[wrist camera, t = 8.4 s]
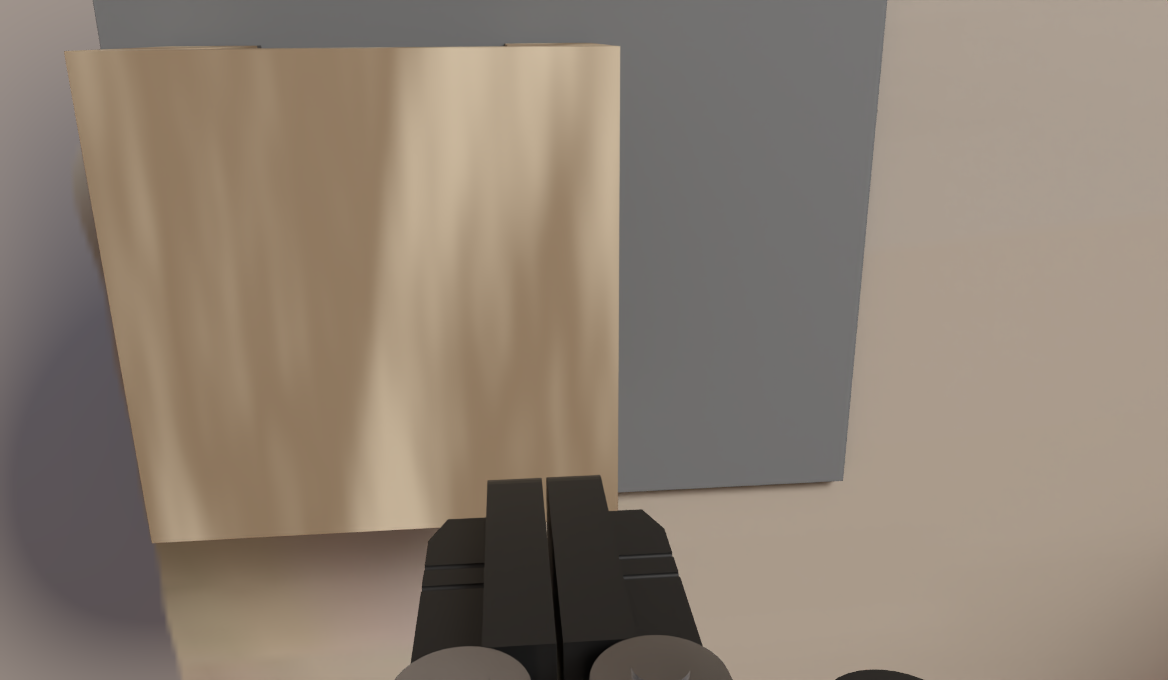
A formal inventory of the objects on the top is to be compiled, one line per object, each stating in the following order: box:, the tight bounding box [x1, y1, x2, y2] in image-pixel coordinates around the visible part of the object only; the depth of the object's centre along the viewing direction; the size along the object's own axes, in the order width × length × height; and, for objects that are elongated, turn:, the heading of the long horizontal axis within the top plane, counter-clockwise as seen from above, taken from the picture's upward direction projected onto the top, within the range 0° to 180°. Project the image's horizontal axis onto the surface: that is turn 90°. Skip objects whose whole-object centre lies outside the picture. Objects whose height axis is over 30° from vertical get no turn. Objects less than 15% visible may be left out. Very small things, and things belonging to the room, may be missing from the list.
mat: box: [93, 0, 887, 492], centre depth 29 cm, size 23×18×1 cm
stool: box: [64, 43, 620, 543], centre depth 25 cm, size 7×12×12 cm
